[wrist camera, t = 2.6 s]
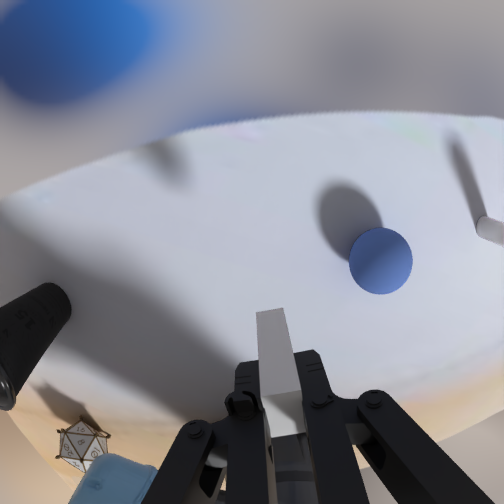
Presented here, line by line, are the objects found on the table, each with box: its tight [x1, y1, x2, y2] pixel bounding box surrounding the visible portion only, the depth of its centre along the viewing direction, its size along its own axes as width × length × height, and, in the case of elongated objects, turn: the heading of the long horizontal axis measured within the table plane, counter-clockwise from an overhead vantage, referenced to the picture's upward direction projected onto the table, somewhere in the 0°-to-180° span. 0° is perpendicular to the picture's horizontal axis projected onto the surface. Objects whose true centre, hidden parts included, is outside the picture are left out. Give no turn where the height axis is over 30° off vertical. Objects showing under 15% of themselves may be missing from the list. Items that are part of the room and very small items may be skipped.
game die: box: [55, 415, 111, 473], centre depth 29 cm, size 9×8×10 cm
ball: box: [349, 228, 413, 294], centre depth 23 cm, size 6×6×6 cm
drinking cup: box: [0, 283, 71, 411], centre depth 17 cm, size 8×8×20 cm
